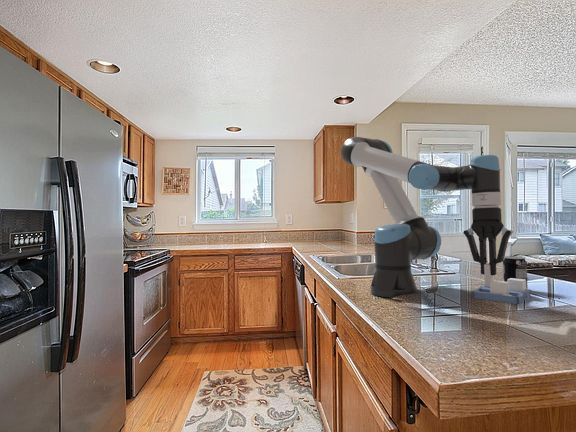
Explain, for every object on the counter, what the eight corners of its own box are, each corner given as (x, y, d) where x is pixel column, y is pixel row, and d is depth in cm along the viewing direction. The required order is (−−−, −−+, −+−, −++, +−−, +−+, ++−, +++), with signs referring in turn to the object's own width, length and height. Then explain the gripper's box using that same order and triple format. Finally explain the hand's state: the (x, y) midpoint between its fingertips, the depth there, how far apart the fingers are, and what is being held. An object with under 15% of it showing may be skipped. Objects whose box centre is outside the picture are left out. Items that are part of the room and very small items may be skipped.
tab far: (507, 296, 102) (507, 279, 102) (510, 294, 105) (510, 278, 105) (523, 298, 100) (522, 281, 100) (526, 296, 102) (525, 279, 102)
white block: (490, 299, 99) (489, 282, 99) (494, 296, 102) (493, 280, 102) (506, 301, 96) (505, 283, 96) (509, 299, 99) (509, 282, 99)
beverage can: (504, 290, 116) (503, 255, 116) (527, 292, 112) (526, 256, 112) (503, 294, 110) (502, 257, 110) (527, 296, 106) (526, 258, 107)
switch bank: (471, 301, 101) (471, 290, 101) (486, 294, 111) (486, 283, 111) (519, 309, 93) (518, 296, 93) (530, 299, 102) (530, 288, 102)
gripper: (458, 208, 103) (461, 285, 103) (507, 205, 94) (511, 290, 94) (467, 208, 109) (470, 281, 108) (515, 206, 99) (517, 286, 99)
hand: (489, 285), depth 101 cm, fingers closed
